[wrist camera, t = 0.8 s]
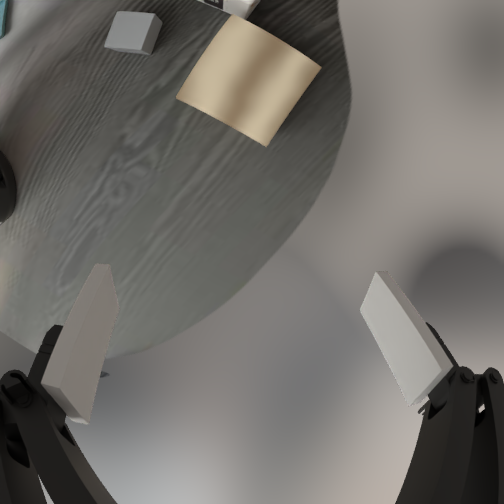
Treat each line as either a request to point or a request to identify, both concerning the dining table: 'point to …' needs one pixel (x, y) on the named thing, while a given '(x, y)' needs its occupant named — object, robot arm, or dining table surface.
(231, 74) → the maple block
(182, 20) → the dining table surface
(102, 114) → the dining table surface
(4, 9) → the teal serving tray
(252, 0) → the container
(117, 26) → the slate cube
